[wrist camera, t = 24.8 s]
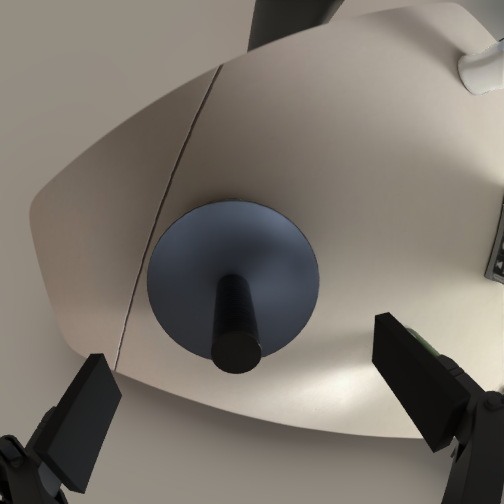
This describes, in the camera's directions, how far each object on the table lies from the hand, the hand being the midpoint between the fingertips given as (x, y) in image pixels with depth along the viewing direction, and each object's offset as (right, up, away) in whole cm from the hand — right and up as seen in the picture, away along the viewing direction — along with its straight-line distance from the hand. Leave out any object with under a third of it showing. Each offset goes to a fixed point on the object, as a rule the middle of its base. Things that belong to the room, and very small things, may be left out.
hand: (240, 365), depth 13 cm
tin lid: (-1, +2, +11) cm, 11 cm away
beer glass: (+31, +30, +14) cm, 45 cm away
